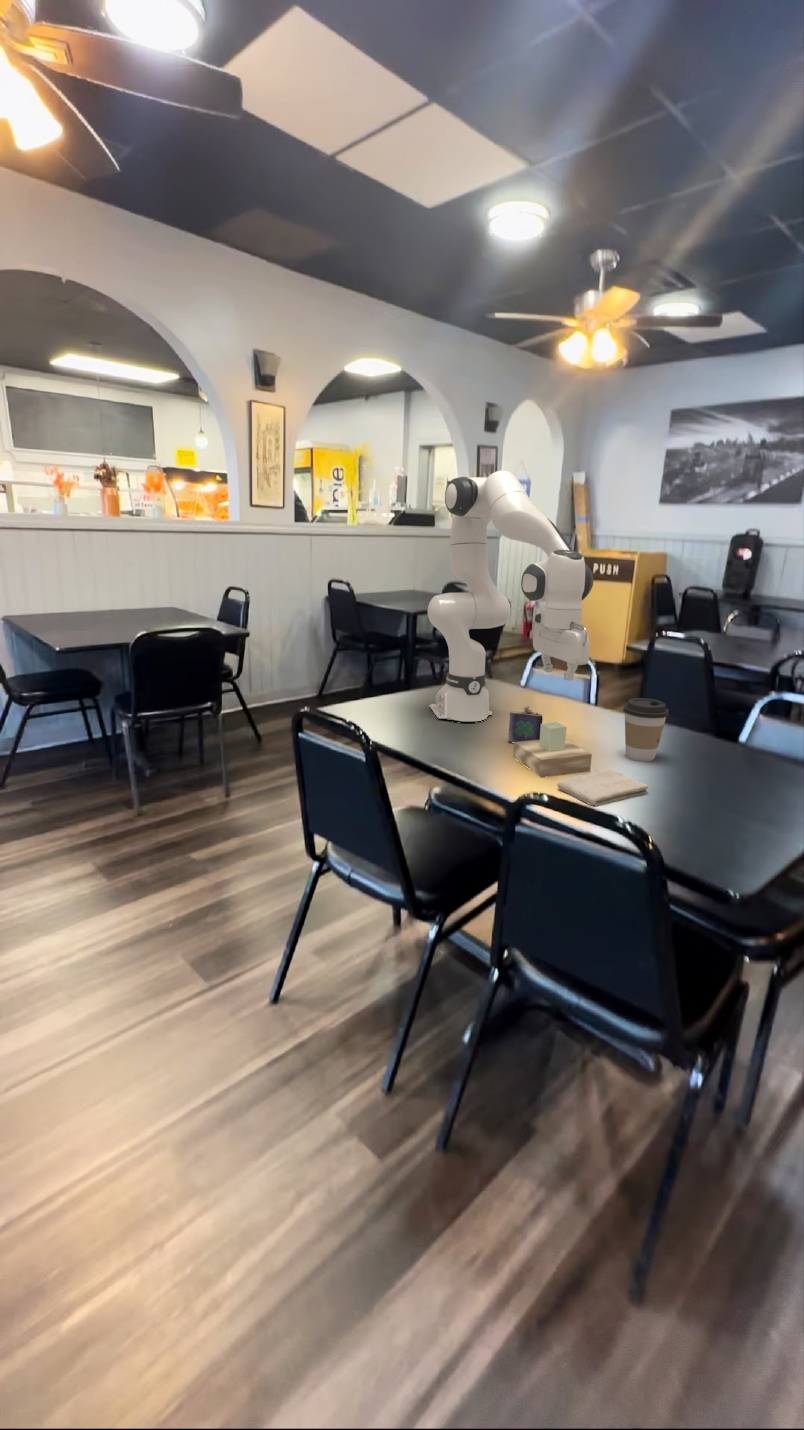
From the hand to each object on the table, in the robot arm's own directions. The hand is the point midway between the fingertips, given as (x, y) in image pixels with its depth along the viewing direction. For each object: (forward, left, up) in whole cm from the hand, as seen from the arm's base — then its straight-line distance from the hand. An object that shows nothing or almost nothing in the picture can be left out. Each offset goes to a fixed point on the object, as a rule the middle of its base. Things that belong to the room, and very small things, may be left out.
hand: (557, 675), depth 165 cm
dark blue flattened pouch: (-16, +2, -23) cm, 29 cm away
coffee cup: (+3, +26, -23) cm, 35 cm away
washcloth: (+20, +2, -24) cm, 31 cm away
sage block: (+1, -1, -19) cm, 19 cm away
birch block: (+1, 0, -24) cm, 24 cm away
